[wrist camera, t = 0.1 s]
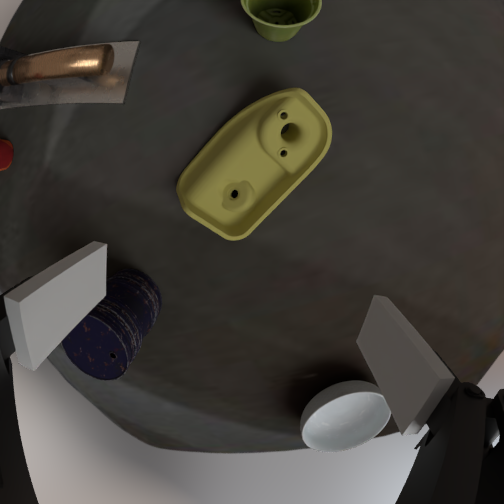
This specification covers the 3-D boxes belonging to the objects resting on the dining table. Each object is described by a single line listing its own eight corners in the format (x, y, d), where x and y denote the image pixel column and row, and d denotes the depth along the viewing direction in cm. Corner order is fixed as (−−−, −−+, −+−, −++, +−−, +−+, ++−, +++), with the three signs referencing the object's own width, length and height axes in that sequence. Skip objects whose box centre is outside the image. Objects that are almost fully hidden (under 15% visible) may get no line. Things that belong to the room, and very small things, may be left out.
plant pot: (313, 52, 34) (326, 28, 26) (244, 53, 34) (242, 28, 26) (305, 2, 31) (316, -28, 23) (241, 2, 31) (238, -29, 23)
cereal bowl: (367, 423, 53) (376, 447, 46) (292, 429, 53) (295, 455, 46) (390, 364, 48) (404, 387, 41) (303, 368, 48) (309, 396, 41)
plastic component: (237, 246, 40) (176, 207, 34) (226, 218, 45) (173, 182, 39) (345, 137, 34) (295, 79, 28) (318, 123, 40) (273, 74, 34)
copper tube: (117, 49, 30) (103, 38, 25) (109, 79, 31) (93, 71, 26) (19, 63, 29) (2, 57, 24) (13, 88, 30) (-5, 85, 26)
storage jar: (107, 317, 46) (65, 368, 31) (105, 263, 43) (53, 304, 29) (162, 329, 46) (132, 389, 32) (164, 274, 43) (127, 324, 29)
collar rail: (140, 42, 33) (101, 6, 20) (125, 104, 36) (76, 85, 23) (4, 62, 32) (-42, 52, 19) (-8, 110, 35) (-57, 108, 22)
